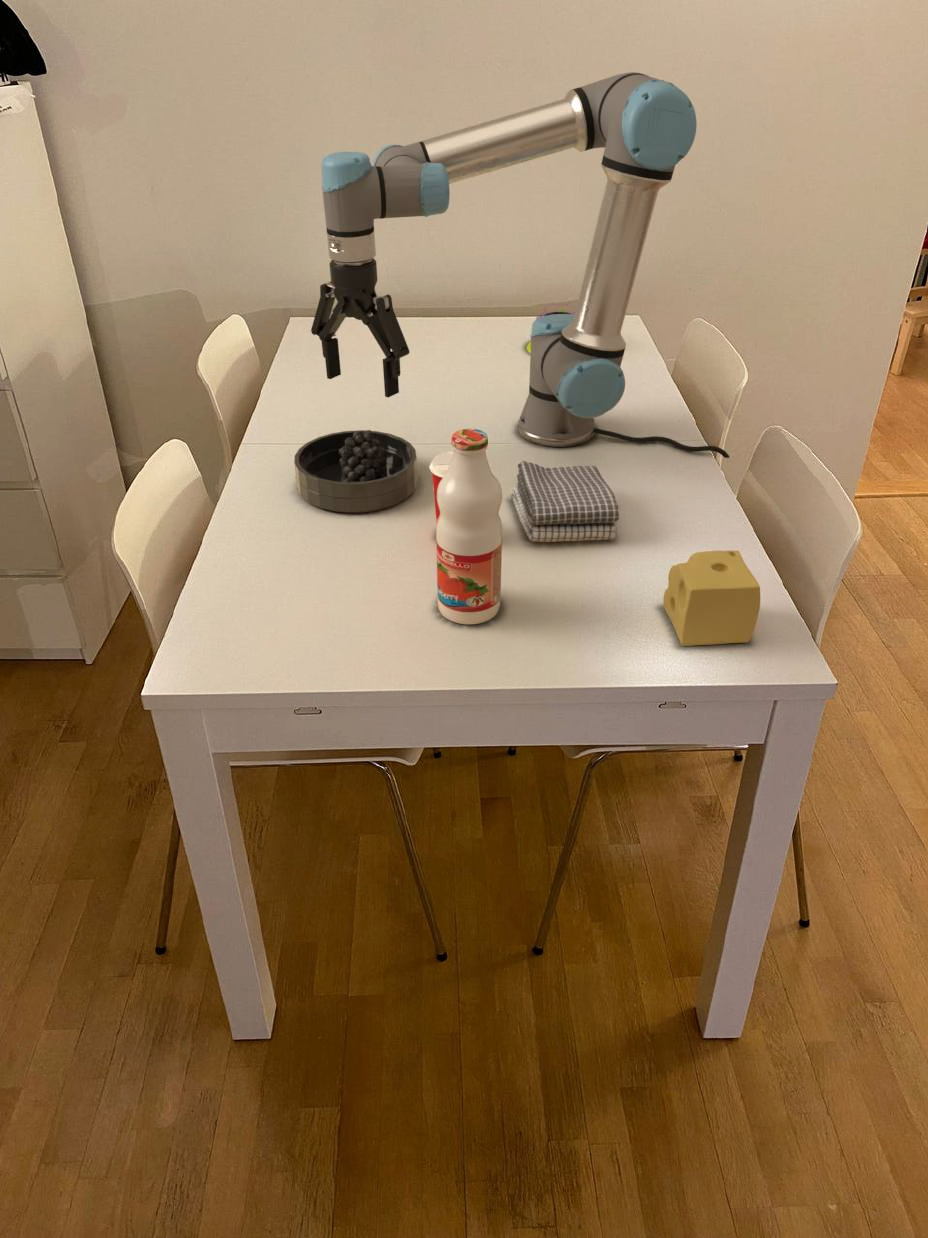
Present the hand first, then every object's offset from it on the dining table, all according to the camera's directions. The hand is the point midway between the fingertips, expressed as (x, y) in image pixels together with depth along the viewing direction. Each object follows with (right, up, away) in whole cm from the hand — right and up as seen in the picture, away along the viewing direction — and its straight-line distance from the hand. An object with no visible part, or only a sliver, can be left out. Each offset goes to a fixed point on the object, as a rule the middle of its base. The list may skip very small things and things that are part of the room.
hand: (362, 385), depth 171 cm
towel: (+34, -23, -1) cm, 42 cm away
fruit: (-2, -16, +9) cm, 18 cm away
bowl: (-2, -16, +9) cm, 19 cm away
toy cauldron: (+40, +24, +67) cm, 82 cm away
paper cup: (+16, -27, -5) cm, 31 cm away
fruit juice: (+18, -39, -22) cm, 48 cm away
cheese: (+53, -41, -26) cm, 72 cm away
